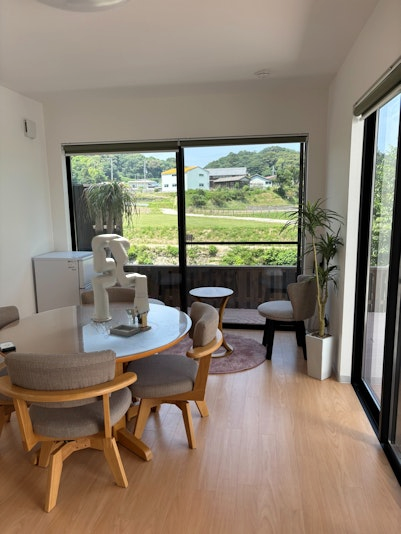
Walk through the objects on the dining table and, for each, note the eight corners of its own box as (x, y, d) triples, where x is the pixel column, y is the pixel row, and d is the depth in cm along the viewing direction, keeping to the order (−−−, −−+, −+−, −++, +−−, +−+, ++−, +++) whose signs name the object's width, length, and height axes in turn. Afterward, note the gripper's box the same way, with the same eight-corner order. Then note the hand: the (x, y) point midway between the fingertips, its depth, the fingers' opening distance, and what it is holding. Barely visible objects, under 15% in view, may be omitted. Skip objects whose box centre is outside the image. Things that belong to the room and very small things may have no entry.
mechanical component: (140, 324, 268) (140, 309, 266) (126, 323, 270) (125, 309, 268) (142, 323, 271) (141, 308, 269) (127, 322, 273) (127, 308, 271)
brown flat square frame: (134, 329, 256) (134, 327, 256) (142, 326, 262) (142, 324, 262) (143, 331, 252) (143, 329, 252) (151, 328, 258) (151, 326, 258)
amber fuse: (138, 326, 256) (137, 314, 255) (142, 324, 259) (141, 312, 258) (143, 327, 254) (142, 314, 253) (147, 325, 257) (146, 313, 256)
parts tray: (110, 333, 250) (109, 328, 250) (122, 328, 259) (122, 324, 259) (127, 337, 242) (127, 332, 242) (140, 332, 251) (139, 327, 251)
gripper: (145, 291, 263) (146, 318, 265) (127, 296, 249) (128, 325, 252) (154, 292, 259) (155, 320, 261) (136, 298, 245) (137, 327, 248)
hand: (142, 322), depth 257 cm, fingers closed on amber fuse, 4 cm apart
